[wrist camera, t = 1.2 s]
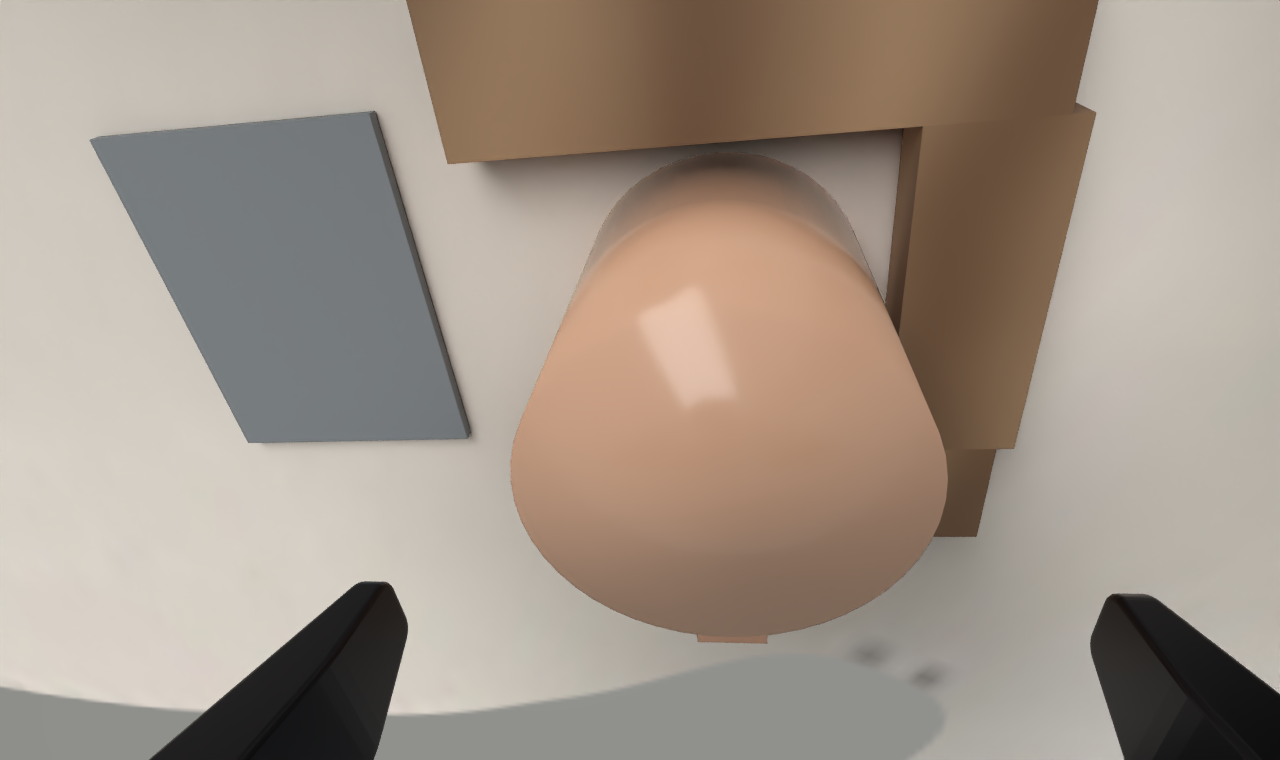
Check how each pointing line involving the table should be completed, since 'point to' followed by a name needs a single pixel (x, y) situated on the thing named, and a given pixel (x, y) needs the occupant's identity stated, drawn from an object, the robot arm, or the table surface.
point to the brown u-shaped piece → (825, 104)
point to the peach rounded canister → (728, 413)
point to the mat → (294, 275)
